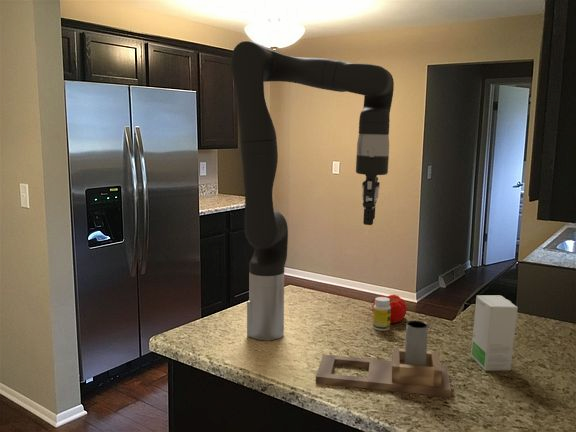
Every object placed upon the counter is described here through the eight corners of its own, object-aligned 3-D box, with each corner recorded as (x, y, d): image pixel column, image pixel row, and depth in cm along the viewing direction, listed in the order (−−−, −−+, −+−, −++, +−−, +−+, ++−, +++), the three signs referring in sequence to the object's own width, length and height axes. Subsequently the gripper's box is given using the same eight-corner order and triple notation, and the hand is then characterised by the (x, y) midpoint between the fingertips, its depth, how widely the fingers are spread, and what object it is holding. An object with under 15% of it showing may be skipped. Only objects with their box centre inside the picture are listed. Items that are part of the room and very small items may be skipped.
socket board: (315, 383, 113) (316, 361, 112) (323, 360, 125) (323, 340, 124) (451, 397, 108) (452, 373, 107) (445, 371, 119) (446, 350, 119)
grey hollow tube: (401, 365, 117) (403, 320, 115) (421, 364, 117) (423, 320, 116) (408, 374, 112) (410, 327, 111) (428, 373, 113) (431, 327, 111)
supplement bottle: (389, 331, 144) (391, 302, 143) (372, 330, 145) (373, 300, 143) (390, 325, 148) (391, 297, 147) (373, 324, 149) (374, 295, 148)
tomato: (370, 324, 150) (371, 302, 149) (373, 312, 160) (374, 291, 159) (406, 327, 148) (407, 304, 147) (406, 314, 158) (407, 293, 157)
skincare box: (470, 356, 128) (474, 294, 126) (496, 356, 128) (501, 294, 126) (485, 371, 120) (490, 305, 117) (513, 371, 120) (518, 305, 118)
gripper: (358, 152, 132) (355, 216, 134) (354, 154, 118) (350, 225, 120) (389, 153, 130) (385, 218, 133) (388, 155, 116) (384, 227, 119)
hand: (369, 221), depth 126 cm, fingers open, 8 cm apart
